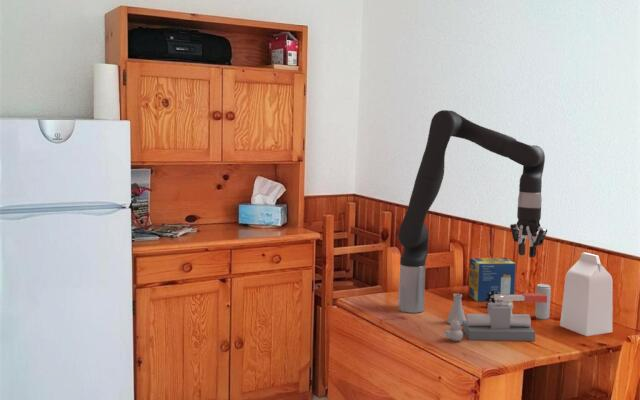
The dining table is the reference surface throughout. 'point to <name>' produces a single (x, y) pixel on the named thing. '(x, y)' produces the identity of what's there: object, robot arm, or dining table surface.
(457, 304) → the flask
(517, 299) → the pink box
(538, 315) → the beverage can
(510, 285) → the protein box
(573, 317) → the milk
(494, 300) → the valve
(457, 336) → the rubber duck
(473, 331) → the pipe manifold
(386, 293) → the dining table surface
